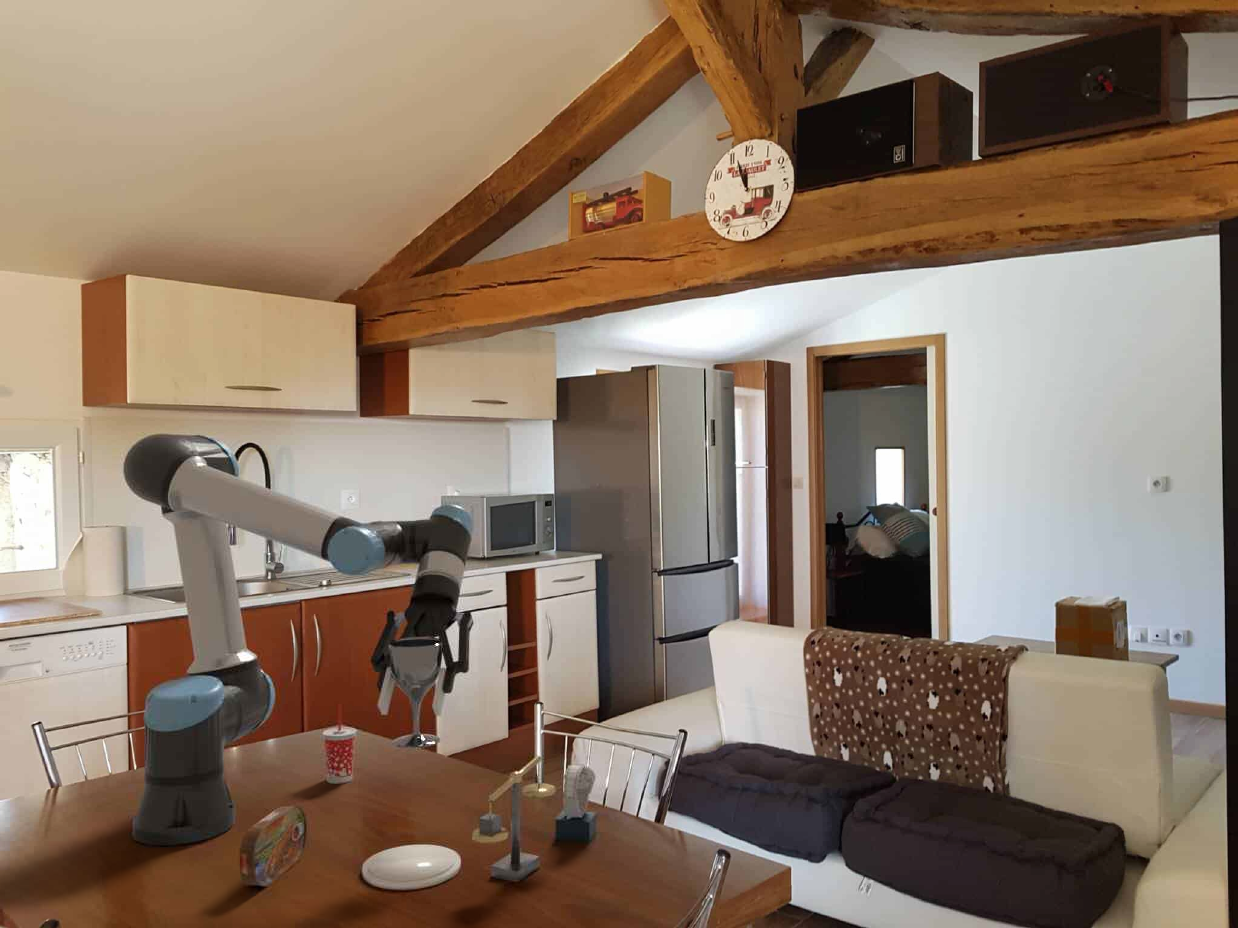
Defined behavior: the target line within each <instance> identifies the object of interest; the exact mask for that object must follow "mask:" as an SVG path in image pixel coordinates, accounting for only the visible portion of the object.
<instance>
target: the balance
mask: <svg viewBox="0 0 1238 928" xmlns="http://www.w3.org/2000/svg"><path fill="white" fill-rule="evenodd" d="M541 761H542V756H541V755H536V756H535V757H534V758H533V759H531V760H530V761H529V762H528V763H527V764H526V765H524V766H523V767H522V768H521V769H520V770H518V771H513V772H511V773H510V775H509V779H508V780H506V781H505V782H504V783H503V784H501V786H500V787H498V788H497V789H496V790H495V791H493V793H492V794H490V795H489V796H488V797H487V800H488V802H489V812H488V813H486V814H484V815H483V816H481V817H479V820H478V822H479V823H478V825H479V826H478V828H477V829H474V830H473V831H472V835H471V838H472V840H473V841H475V842H476V843H479V844H496V843H497V844H498V843H501V842H503V841H506V840H507V839H508V838H509V836H510V853H509V854H508V855H506V856H504V857H503V858H502V859H500V860H498V861H497V862H495V863H493V864H492V865H490V866H491V867H490V869H491V870H490V872H491V873H490V874H491V875H490V877H493V878H496V879H500V880H501V879H502V880H505V881H510V882H514V883H518V882H520V881H521V880H523V879H524V878H526V877H527V876H528V875H530V874H531V873H532V872H534V871H536V870H537V869H538V868H540V864H541V863H540V861H541V860H540V858H541V856H539V855H536V854H535V855H534V854H530V853H526V852H525V853H524V852H522V851H521V850H522V849H521V846H522V845H521V843H522V842H521V841H522V839H521V837H522V836H521V834H522V833H521V829H522V828H521V827H522V826H521V822H522V821H521V820H522V819H521V809H522V808H521V807H522V806H521V803H522V802H521V800H522V799H521V797H522V796H521V794H522V795H523V796H525V797H529V798H532V799H533V798H535V799H537V798H538V799H542V798H547V797H551V796H553V795H555V794H556V791H557V789H556V786H555V785H553V784H549V783H544V782H543V783H542V782H541V779H540V776H541V774H540V773H541V771H540V769H541V768H540V767H541V766H540V765H541V764H540V763H541ZM535 766H537V783H530V784H527V785H524V786H523V787H522V785H521V784H522V783H521V782H522V781H523V780H522V779H523V776H524V775H526V774H527V773H528V772H529V771H530V770H532V769H533V768H534V767H535ZM521 787H522V789H521ZM509 789H510V835H509V830H508V829H507V828H505V827H502V825H503V824H502V823H503V822H502V818H503V817H502V815H500V814H495V813H492V803H493V802H495V800H497V799H498V798H499V797H500V796H501V795H503V794H504V793H505V792H506V791H507V790H509ZM521 791H522V792H521Z"/></svg>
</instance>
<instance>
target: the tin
mask: <svg viewBox="0 0 1238 928" xmlns="http://www.w3.org/2000/svg"><path fill="white" fill-rule="evenodd" d="M307 824H308V823H307V819H306V814H305V811H304V810H303V809H302V807H300V806H299V805H290V806H285V805H284V806H279V807H277V808H275V809H274V810H273V811H271V812H269V813H268V814H267V815H266V816H264V817H263V818H262V819H260V820H258V821H257V822H256V823H254V824H253V825H252V826H250V827H249V828H248V830H246V833H245V834H244V836H243V838H242V840H241V843H240V847H239V850H238V851H239V852H238V855H239V871H240V872H239V873H240V878H241V880H242V881H243V883H244V884H246V885H247V886H253V887H254V886H255V887H256V886H257V887H259V886H260V887H268V886H270V885H272V884H273V883H274V882H275V881H277V879H279V878H280V877H281V876H283V874H284V873H286V872H287V871H288V870H289V869H291V868H292V867H293V866H294V865H295V864H297V862H298V861H299V860H300V858H301V857H302V854H303V853H304V849H305V847H306V841H307V833H308V831H307V830H308V826H307Z"/></svg>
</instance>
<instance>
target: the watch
mask: <svg viewBox="0 0 1238 928" xmlns="http://www.w3.org/2000/svg"><path fill="white" fill-rule="evenodd" d="M562 780H564V782H563V797H562V804H563V809H562V811H561V812H560V813H559V814H558V816H557V817H556V818H555V840H561V841H562V840H563V841H573V842H585V843H590V842H591V841H592V839H593V837H594V836H595V835H596V833H597V812H593V811H587V807H588V803H589V795H590V794H591V793H592V790H593V786H594V783H595V781H596V773H595V771H594V770H593V769H592V768H591V767H589V766H587V765H585V764H582V763H573V764H569V765H568V766H567V768H566V771H565V774H564V773H562Z"/></svg>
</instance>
